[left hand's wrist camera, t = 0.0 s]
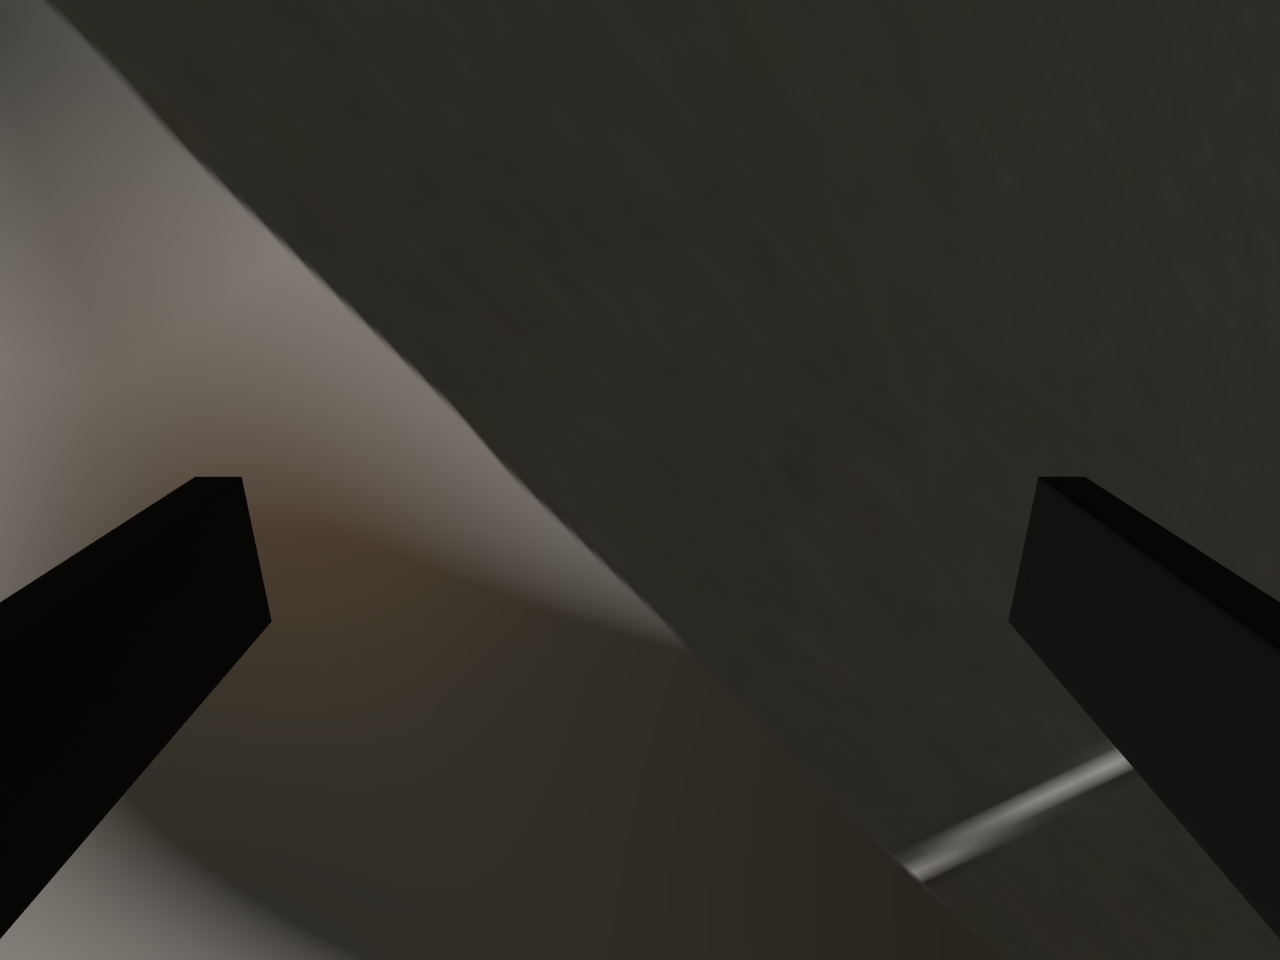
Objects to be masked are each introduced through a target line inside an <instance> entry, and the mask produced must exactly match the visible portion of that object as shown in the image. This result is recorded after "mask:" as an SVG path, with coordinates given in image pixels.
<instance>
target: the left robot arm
mask: <svg viewBox="0 0 1280 960" xmlns="http://www.w3.org/2000/svg"><path fill="white" fill-rule="evenodd" d="M270 623H271V616H270V612H269V607H268V602H267V597H266V593H265V588H264V583H263V578H262V573H261V568H260V563H259V559H258V554H257V549H256V544H255V539H254V534H253V530H252V525H251V520H250V515H249V510H248V505H247V501H246V496H245V491H244V486H243V481H242V477H194V478H193V479H191V480H189V481H188V482H186V483H185V484H183V485H182V486H180V487H179V488H177V489H176V490H174V491H172V492H171V493H169V494H168V495H166V496H165V497H163V498H162V499H160V500H159V501H157V502H155V503H154V504H152V505H151V506H149V507H148V508H146V509H144V510H143V511H141V512H140V513H138V514H137V515H135V516H134V517H132V518H130V519H129V520H127V521H126V522H124V523H123V524H121V525H120V526H118V527H117V528H115V529H113V530H112V531H110V532H109V533H107V534H106V535H104V536H103V537H101V538H99V539H98V540H96V541H95V542H93V543H92V544H90V545H89V546H87V547H85V548H84V549H82V550H81V551H79V552H78V553H76V554H75V555H73V556H71V557H70V558H68V559H67V560H65V561H64V562H62V563H61V564H59V565H58V566H56V567H54V568H53V569H51V570H50V571H48V572H47V573H45V574H44V575H42V576H40V577H39V578H37V579H36V580H34V581H33V582H31V583H30V584H28V585H27V586H25V587H23V588H22V589H20V590H19V591H17V592H16V593H14V594H13V595H11V596H9V597H8V598H6V599H5V600H3V601H2V602H0V939H1V937H2V936H3V935H4V934H5V933H6V932H7V930H8V929H9V928H10V927H11V926H12V925H13V923H14V922H15V921H16V920H17V919H18V918H19V916H20V915H21V914H22V913H23V912H24V910H25V909H26V908H27V907H28V906H29V905H30V903H31V902H32V901H33V900H34V899H35V898H36V896H37V895H38V894H39V893H40V892H41V891H42V889H43V888H44V887H45V886H46V885H47V884H48V882H49V881H50V880H51V879H52V878H53V877H54V875H55V874H56V873H57V872H58V871H59V870H60V868H61V867H62V866H63V865H64V864H65V862H66V861H67V860H68V859H69V858H70V857H71V855H72V854H73V853H74V852H75V851H76V850H77V848H78V847H79V846H80V845H81V844H82V843H83V841H84V840H85V839H86V838H87V837H88V836H89V834H90V833H91V832H92V831H93V830H94V829H95V827H96V826H97V825H98V824H99V823H100V821H101V820H102V819H103V818H104V817H105V816H106V815H107V813H108V812H109V811H110V810H111V809H112V807H113V806H114V805H115V804H116V803H117V802H118V800H119V799H120V798H121V797H122V796H123V795H124V793H125V792H126V791H127V790H128V789H129V788H130V786H131V785H132V784H133V783H134V782H135V781H136V779H137V778H138V777H139V776H140V775H141V774H142V772H143V771H144V770H145V769H146V768H147V767H148V765H149V764H150V763H151V762H152V761H153V760H154V758H155V757H156V756H157V755H158V754H159V753H160V751H161V750H162V749H163V748H164V747H165V745H166V744H167V743H168V742H169V741H170V740H171V738H172V737H173V736H174V735H175V734H176V733H177V731H178V730H179V729H180V728H181V727H182V726H183V724H184V723H185V722H186V721H187V720H188V719H189V717H190V716H191V715H192V714H193V713H194V712H195V710H196V709H197V708H198V707H199V706H200V705H201V703H202V702H203V701H204V700H205V699H206V697H207V696H208V695H209V694H210V693H211V692H212V690H213V689H214V688H215V687H216V686H217V685H218V683H219V682H220V681H221V680H222V679H223V678H224V676H225V675H226V674H227V673H228V672H229V671H230V669H231V668H232V667H233V666H234V665H235V664H236V662H237V661H238V660H239V659H240V658H241V657H242V655H243V654H244V653H245V652H246V651H247V650H248V648H249V647H250V646H251V645H252V644H253V642H254V641H255V640H256V639H257V638H258V637H259V635H260V634H261V633H262V632H263V631H264V630H265V628H266V627H267V626H268V625H269V624H270ZM1009 623H1010V624H1011V625H1012V626H1013V627H1014V628H1015V630H1016V631H1017V632H1018V633H1019V634H1020V635H1021V637H1022V638H1023V639H1024V640H1025V641H1026V643H1027V644H1028V645H1029V646H1030V647H1031V648H1032V650H1033V651H1034V652H1035V653H1036V654H1037V655H1038V657H1039V658H1040V659H1041V660H1042V661H1043V662H1044V664H1045V665H1046V666H1047V667H1048V668H1049V669H1050V671H1051V672H1052V673H1053V674H1054V675H1055V676H1056V678H1057V679H1058V680H1059V681H1060V682H1061V683H1062V685H1063V686H1064V687H1065V688H1066V689H1067V690H1068V692H1069V693H1070V694H1071V695H1072V696H1073V698H1074V699H1075V700H1076V701H1077V702H1078V703H1079V705H1080V706H1081V707H1082V708H1083V709H1084V710H1085V712H1086V713H1087V714H1088V715H1089V716H1090V717H1091V719H1092V720H1093V721H1094V722H1095V723H1096V724H1097V726H1098V727H1099V728H1100V729H1101V730H1102V731H1103V733H1104V734H1105V735H1106V736H1107V737H1108V738H1109V740H1110V741H1111V742H1112V743H1113V744H1114V745H1115V747H1116V748H1117V749H1118V750H1119V751H1120V753H1121V754H1122V755H1123V756H1124V757H1125V758H1126V760H1127V761H1128V762H1129V763H1130V764H1131V765H1132V767H1133V768H1134V769H1135V770H1136V771H1137V772H1138V774H1139V775H1140V776H1141V777H1142V778H1143V779H1144V781H1145V782H1146V783H1147V784H1148V785H1149V786H1150V788H1151V789H1152V790H1153V791H1154V792H1155V793H1156V795H1157V796H1158V797H1159V798H1160V799H1161V800H1162V802H1163V803H1164V804H1165V805H1166V806H1167V808H1168V809H1169V810H1170V811H1171V812H1172V813H1173V815H1174V816H1175V817H1176V818H1177V819H1178V820H1179V822H1180V823H1181V824H1182V825H1183V826H1184V827H1185V829H1186V830H1187V831H1188V832H1189V833H1190V834H1191V836H1192V837H1193V838H1194V839H1195V840H1196V841H1197V843H1198V844H1199V845H1200V846H1201V847H1202V848H1203V850H1204V851H1205V852H1206V853H1207V854H1208V855H1209V857H1210V858H1211V859H1212V860H1213V861H1214V863H1215V864H1216V865H1217V866H1218V867H1219V868H1220V870H1221V871H1222V872H1223V873H1224V874H1225V875H1226V877H1227V878H1228V879H1229V880H1230V881H1231V882H1232V884H1233V885H1234V886H1235V887H1236V888H1237V889H1238V891H1239V892H1240V893H1241V894H1242V895H1243V896H1244V898H1245V899H1246V900H1247V901H1248V902H1249V903H1250V905H1251V906H1252V907H1253V908H1254V909H1255V910H1256V912H1257V913H1258V914H1259V915H1260V916H1261V918H1262V919H1263V920H1264V921H1265V922H1266V923H1267V925H1268V926H1269V927H1270V928H1271V929H1272V930H1273V932H1274V933H1275V934H1276V935H1277V936H1278V937H1279V939H1280V602H1278V601H1277V600H1275V599H1274V598H1272V597H1271V596H1269V595H1267V594H1266V593H1264V592H1263V591H1261V590H1260V589H1258V588H1257V587H1255V586H1254V585H1252V584H1250V583H1249V582H1247V581H1246V580H1244V579H1243V578H1241V577H1240V576H1238V575H1236V574H1235V573H1233V572H1232V571H1230V570H1229V569H1227V568H1226V567H1224V566H1222V565H1221V564H1219V563H1218V562H1216V561H1215V560H1213V559H1212V558H1210V557H1209V556H1207V555H1205V554H1204V553H1202V552H1201V551H1199V550H1198V549H1196V548H1195V547H1193V546H1191V545H1190V544H1188V543H1187V542H1185V541H1184V540H1182V539H1181V538H1179V537H1177V536H1176V535H1174V534H1173V533H1171V532H1170V531H1168V530H1167V529H1165V528H1163V527H1162V526H1160V525H1159V524H1157V523H1156V522H1154V521H1153V520H1151V519H1150V518H1148V517H1146V516H1145V515H1143V514H1142V513H1140V512H1139V511H1137V510H1136V509H1134V508H1132V507H1131V506H1129V505H1128V504H1126V503H1125V502H1123V501H1122V500H1120V499H1118V498H1117V497H1115V496H1114V495H1112V494H1111V493H1109V492H1108V491H1106V490H1105V489H1103V488H1101V487H1100V486H1098V485H1097V484H1095V483H1094V482H1092V481H1091V480H1089V479H1087V478H1086V477H1038V481H1037V486H1036V491H1035V496H1034V501H1033V505H1032V510H1031V515H1030V520H1029V525H1028V530H1027V534H1026V539H1025V544H1024V549H1023V554H1022V559H1021V563H1020V568H1019V573H1018V578H1017V583H1016V587H1015V592H1014V597H1013V602H1012V607H1011V612H1010V616H1009Z"/></svg>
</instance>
